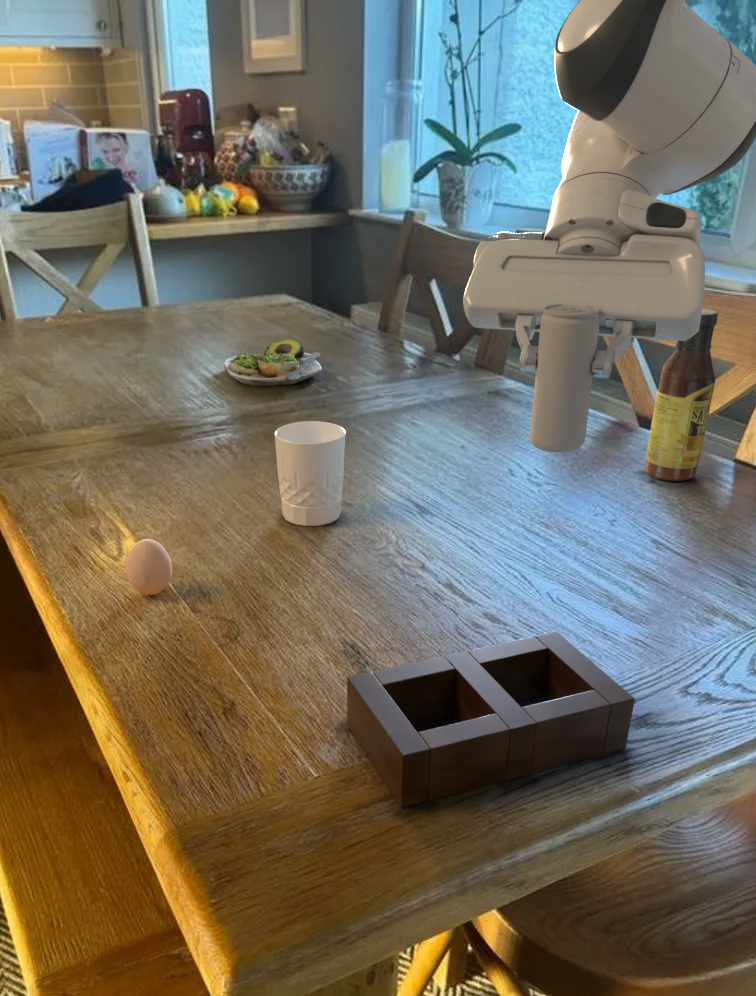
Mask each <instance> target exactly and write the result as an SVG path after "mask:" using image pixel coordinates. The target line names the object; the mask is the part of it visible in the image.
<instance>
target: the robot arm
mask: <svg viewBox="0 0 756 996" xmlns="http://www.w3.org/2000/svg"><path fill="white" fill-rule="evenodd" d="M553 51H554V53H553V54H554V55H553V57H554V58H553V61H554V75H555V81H556V86H557V90H558V93H559V97H560V100H561V101H562V102H563V103H565V104H567V105H568V106H570V107H571V108H573V109H575V110H576V111H577V113H576V115H575V117H574V120H573V123H572V124H571V125H572V126H571V129H570V132H569V134H568V138H567V142H566V145H565V149H564V153H563V157H562V162H561V173H562V179H561V181H560V183H559V184H558V187H557V188H556V190H555V193H554V195H553V198H552V201H551V207H550V210H549V215H548V220H547V223H546V225H545V226H546V228H545V231H544V232H519V233H517V232H516V233H515V232H513V233H512V232H509V231H500V232H496V233H495V235H494V236H490V237H488V238H485V239H484V240H483V241H482V240H481V241H480V242H479V244H478V245H477V247H476V250H475V254H474V257H473V261H472V263H473V264H472V266H473V270H472V271H471V274H470V276H469V279H468V281H467V284H466V287H465V290H464V294H463V298H462V305H463V310H464V313H465V317H466V319H467V321H468V322H469V324H470V325H471V326H472V327H473V328H475V329H488V330H489V329H491V330H505V331H506V330H507V331H508V330H509V331H515V335H516V340H517V343H518V344H519V348H520V350H521V351H520V355H519V356H520V357H519V362H518V363H519V364H518V365H519V371H520V372H526V373H536V367H537V356H538V346H539V345H533V344H531V342H530V341H531V340H533V339H534V335H535V333H536V332H537V333H540V324H541V316H542V315H543V314H544V307H546V306H549V305H554V304H563V305H562V306H576V307H587V305H590V306H594V307H597V308H599V313H598V315H599V317H600V323H599V331H598V337H599V336H601V337H613V340H612V341H611V342H610V344H609V345H608V346H607V347H606V348H605V349H596V351H595V354H594V361H593V363H592V369H591V372H592V377H593V378H599V379H610V377H611V373H612V369H613V363H615V362H616V361H617V360H618V359H619V358H620V357H621V356H622V355H623V354H624V353H625V352H626V351H627V350H628V349H630V347H631V343H632V339H633V338H634V339H648V340H649V339H650V340H662V341H663V340H665V341H666V340H667V341H676V342H677V341H686V340H688V339H690V338H691V337H692V336H693V335H695V334H696V333H697V332H698V331H699V326H700V321H701V315H702V309H703V307H704V299H705V287H706V260H705V255H704V251H703V249H702V248H701V246H700V243H701V236H702V235H701V233H702V227H701V216H700V213H699V212H697V211H696V210H694V209H691V208H689V207H686V206H681V205H677V204H674V203H671V202H669V201H668V202H667V201H664V200H662V199H658V197H659V196H660V195H664V196H667V195H672V194H676V193H680V192H681V191H685V190H687V189H690V188H693V187H695V186H698V185H700V184H703V183H706V182H709V181H712V180H714V179H715V178H717V177H719V176H721V175H723V174H724V173H726V172H727V171H729V170H730V169H732V168H734V166H736V165H737V164H738V163H739V162H740V161H741V160H742V159H743V158H744V156H745V155H746V154H747V153H748V151H749V150H750V149H751V147H752V145H753V143H754V142H755V139H756V64H755V63H754V62H753V61H752V60H751V59H750V58H749V57H748V56H747V55H746V54H745V53H744V52H742V50H740V49H739V48H738V47H737V46H736V45H734V44H733V43H732V42H731V41H730V40H729V39H728V38H725V37H724V36H722V35H721V34H720V33H719V32H718V31H717V30H716V29H714V28H713V27H712V26H711V25H710V24H709V23H708V22H707V21H706V20H704V19H703V18H702V17H701V16H700V15H699V14H698V13H696V12H695V11H694V10H693V9H692V8H691V7H690V6H689V5H688V4H687V0H579V1H578V2H577V3H576V4H575V6H574V7H573V8H572V9H571V11H570V12H569V14H568V15H567V17H566V18H565V20H564V21H563V23H562V25H561V27H560V28H559V31H558V33H557V36H556V38H555V42H554V50H553ZM587 308H588V307H587Z"/></svg>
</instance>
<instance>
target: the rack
mask: <svg viewBox="0 0 756 996" xmlns="http://www.w3.org/2000/svg"><path fill="white" fill-rule="evenodd" d="M539 697H543V698H544V699H545V700H546V701H543V702H538V703H534V704H529V705H526V706H521V705H520V704H519V703H518V702H522V701H526V700H531V699H534V698H539ZM346 699H347V700H346V712H347V713H346V726H347V727H348V729H349V730H350V732H351V733H352V735H353V736H354V738H355V739H356V741H357V743H358V744H359V745H360V747H361V749H362V750H363V752H364V753H365V755H366V756H367V758H368V759H369V761H370V763H371V764H372V765H373V767H374V769H375V770H376V772H377V773H378V775H379V776H380V778H381V779H382V781H383V782H384V784H385V785H386V787H387V789H388V790H389V792H390V793H391V795H392V796H393V798H394V799H395V801H396V803H397V804H398V806H399V807H400V808H401V809H404V808H407V807H411V806H414V805H418V804H422V803H425V802H430V801H434V800H437V799H441V798H445V797H449V796H452V795H456V794H461V793H464V792H467V791H471V790H475V789H479V788H483V787H486V786H490V785H494V784H497V783H501V782H502V783H503V782H505V781H510V780H514V779H518V778H521V777H525V776H529V775H533V774H535V773H540V772H543V771H548V770H550V769H554V768H558V767H562V766H566V765H570V764H573V763H577V762H581V761H584V760H588V759H592V758H596V757H599V756H603V755H609V754H611V753H615V752H619V751H623V750H626V749H627V743H628V740H629V739H628V738H629V732H630V727H631V722H632V717H633V711H634V706H635V701H636V700H635V699H636V698H635V697H634V696H633V695H632V694H630V693H629V692H628V691H627V690H625V689H624V688H623V687H622V686H621V685H619V683H617V682H616V681H615V680H614V679H612V677H610V676H609V675H608V673H606V672H604V671H603V670H602V669H601V668H599V666H597V665H596V664H595V663H594V662H593V661H592V660H590V659H589V658H588V657H587V656H586V655H585V654H584V653H582V652H581V651H580V650H579V649H578V648H576V646H574V645H573V644H571V642H569V641H568V640H567V639H566V638H565V637H564V636H563V635H561V634H560V633H559V632H558V631H551V632H547V633H542V634H538V635H533V636H528V637H525V638H520V639H515V640H510V641H505V642H502V643H497V644H492V645H486V646H483V647H477V648H473V649H468V650H463V651H459V652H454V653H449V654H445V655H441V656H437V657H432V658H428V659H427V658H426V659H423V660H418V661H414V662H409V663H405V664H401V665H395V666H390V667H387V668H382V669H377V670H372V671H367V672H363V673H358V674H353V675H348V676H347V677H346ZM450 718H453V720H454V721H455V723H451V724H446V725H443V726H439V727H434V728H430V729H426V730H421V731H417V730H416V729H415V727H416V726H420V725H424V724H428V723H433V722H437V721H442V720H445V719H450Z"/></svg>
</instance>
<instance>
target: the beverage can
mask: <svg viewBox="0 0 756 996" xmlns="http://www.w3.org/2000/svg"><path fill="white" fill-rule="evenodd" d="M562 305H563V304H554V305H549V306H546V307H544V314H543V315H542V316H541V324H540V332H539V337H538V345H537V346H538V356H537V367H536V372H535V377H534V378H535V379H534V387H533V388H534V390H533V401H532V409H531V411H532V412H531V421H530V432H529V441H530V442H531V444H532V445H533V447H534V448H536V449H537V450H541V451H543V452H549V453H557V454H559V453H560V454H561V453H564V454H565V453H572V452H575V451H577V450H579V449H580V448H581V447H582V446H583V445H584V443H586V442H585V441H586V435H587V434H586V432H587V427H588V418H589V410H590V401H591V393H592V386H593V378H594V377H592V372H591V369H592V363H593V361H594V354H595V351H596V350H597V347H598V338H599V335H598V331H599V323H600V317H599V315H598V313H599V308H597V307H594V306H590V305H587V307H588V308H587V307H576V306H562Z"/></svg>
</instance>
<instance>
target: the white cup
mask: <svg viewBox="0 0 756 996" xmlns="http://www.w3.org/2000/svg"><path fill="white" fill-rule="evenodd" d="M273 434H274V435H273V436H274V445H275V457H276V467H277V479H278V486H279V488H278V489H279V494H280V499H281V514H282V516H283V518H284V519H285V521H286V522H289V523H291V524H293V525H298V526H304V527H318V526H324V525H328V524H332V523H333V522H335V521H337V520H339V518H340V516H341V514H342V495H343V489H344V478H345V477H344V476H345V475H344V474H345V452H346V430H345V428H344V427H342V426H341V425H338V424H337V423H333V422H328V421H317V420H315V421H314V420H308V421H296V422H292V423H287V424H283V425H282V426H280V427H278V428H276V429H275V431H274V433H273Z"/></svg>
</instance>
